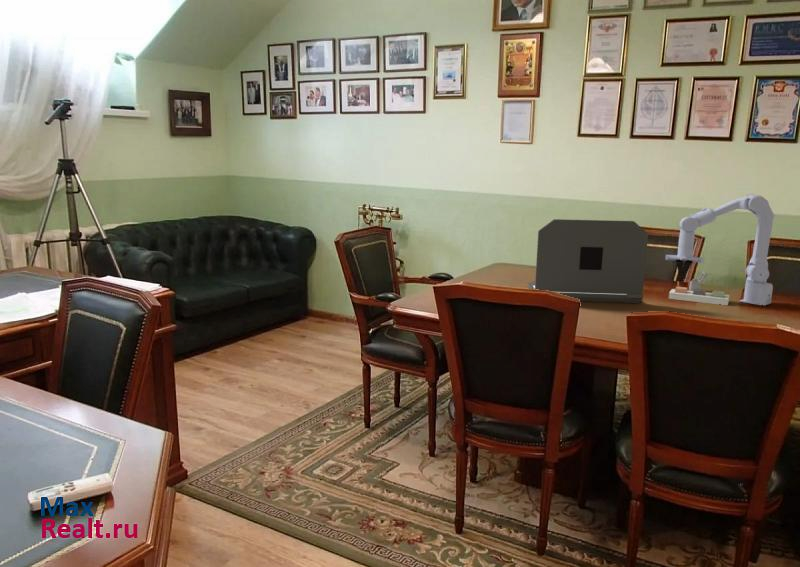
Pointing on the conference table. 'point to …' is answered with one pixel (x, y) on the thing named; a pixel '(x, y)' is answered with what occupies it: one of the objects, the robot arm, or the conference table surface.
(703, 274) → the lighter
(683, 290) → the terracotta button
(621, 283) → the laptop
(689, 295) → the button panel
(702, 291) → the charcoal button
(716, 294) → the sage button
